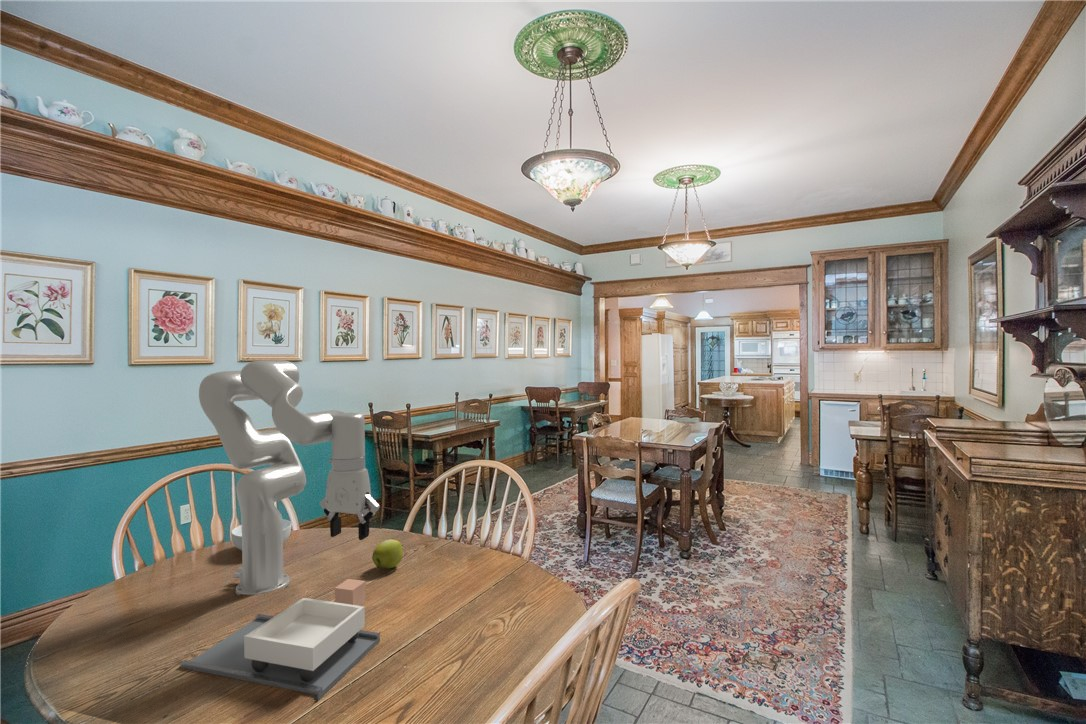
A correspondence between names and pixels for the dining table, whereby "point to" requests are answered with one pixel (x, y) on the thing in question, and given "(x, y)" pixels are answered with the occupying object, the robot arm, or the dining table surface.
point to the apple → (388, 554)
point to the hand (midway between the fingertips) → (349, 536)
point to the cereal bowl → (237, 533)
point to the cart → (304, 635)
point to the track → (233, 663)
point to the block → (351, 592)
